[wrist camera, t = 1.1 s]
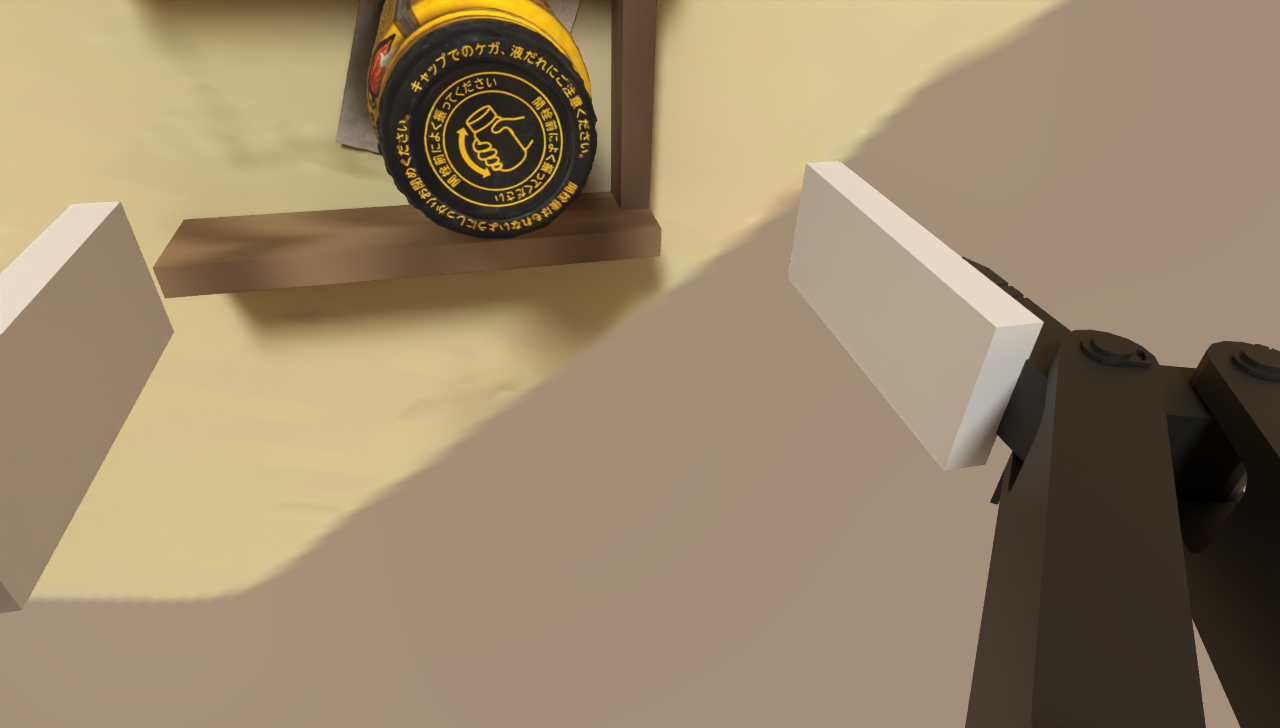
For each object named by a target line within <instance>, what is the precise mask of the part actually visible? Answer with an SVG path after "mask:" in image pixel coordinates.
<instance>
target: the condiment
mask: <svg viewBox="0 0 1280 728" xmlns="http://www.w3.org/2000/svg"><path fill="white" fill-rule="evenodd" d="M579 4H580V0H360V3H359V10H358V15H357V21H356V27H355V33H354V38H353V44H352V49H351V57H350V62H349V67H348V73H347V79H346V85H345V90H344V97H343V102H342V108H341V114H340V119H339V125H338V131H337V137H336V142H337V143H341V144H345V145H349V146H352V147H357V148H362V149H367V150H370V151H373V152H377V153H380V154H381V155H382V156H383V158H384V160H385V166H386V170H387V172H388V174H389V175H391V176H392V178H393V179H394V183H395V185H396V187H397V189H398V190H399V191H400V192H401V193H403V194H404V195H405V196H406V198H407V200H408V202H409V204H411V205H412V206H413V207H414V208H415V209H419V210H421V212H422V213H423V214H424V215H425V217H427V218H429V219H430V220H431V221H433V222H434V223H435V224H437V225H439V226H441V227H444V228H447V229H448V230H451V231H454V232H456V233H459V234H464V235H468V236H471V237H475V238H482V239H510V238H515V237H518V236H521V235H523V234H526V233H530V232H533V231H535V230H539V229H542V228H545V227H546V226H548V225H549V224H550V223H551V222H552V221H553V220H554V219H555V218H557V217H558V216H559V215H560V214H561V213H562V212H563V211H564V210H565V209H566V208H567V207H568V206H569V205H570V204H572V203H573V202H574V201H575V200H576V199H577V198H578V196H579V195H580V193H581V191H582V189H583V187H584V186H585V183H586V182H587V178H588V175H589V173H590V171H591V169H592V163H593V162H594V157H595V153H596V148H597V133H596V130H595V124H596V121H597V117H596V115H595V112H594V110H593V105H592V97H591V85H590V80H589V76H588V72H587V69H586V66H585V64H584V62H583V60H582V57H581V54H580V52H579V49H578V46H576V44H575V42H574V40H573V38H572V37H571V35H570V32H571V29H572V26H573V23H574V20H575V17H576V13H577V10H578V7H579Z"/></svg>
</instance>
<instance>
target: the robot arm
mask: <svg viewBox="0 0 1280 728" xmlns="http://www.w3.org/2000/svg"><path fill="white" fill-rule="evenodd" d="M788 279H789V280H790V281H791V282H792V283H793V285H794V286H795V287H796V288H797V290H798V291H799V292H800V293H801V295H802V296H803V297H804V298H805V300H806V301H807V302H808V303H809V304H810V306H811V307H812V308H813V309H814V311H815V312H816V313H817V314H818V316H819V317H820V318H821V319H822V321H823V322H824V323H825V324H826V325H827V327H828V328H829V329H830V331H831V332H832V333H833V334H834V335H835V337H836V338H837V339H838V340H839V342H840V343H841V344H842V345H843V347H844V348H845V349H846V350H847V352H848V353H849V354H850V355H851V357H852V358H853V359H854V360H855V361H856V363H857V364H858V365H859V366H860V368H861V369H862V370H863V371H864V373H865V374H866V375H867V376H868V377H869V379H870V380H871V381H872V383H873V384H874V385H875V386H876V387H877V389H878V390H879V391H880V392H881V394H882V395H883V396H884V397H885V399H886V400H887V401H888V402H889V403H890V405H891V406H892V407H893V408H894V410H895V411H896V412H897V413H898V415H899V416H900V417H901V418H902V420H903V421H904V422H905V423H906V425H907V426H908V427H909V428H910V429H911V431H912V432H913V433H914V434H915V436H916V437H917V438H918V439H919V441H920V442H921V443H922V444H923V446H924V447H925V448H926V449H927V451H928V452H929V453H930V454H931V455H932V457H933V458H934V459H935V461H936V462H937V463H938V464H939V465H940V466H941V468H942V469H943V470H944V471H945V470H951V469H958V468H965V467H971V466H978V465H984V464H986V461H987V459H988V457H989V454H990V451H991V449H992V447H993V444H994V442H995V439H996V437H997V435H998V436H999V437H1000V438H1001V439H1002V440H1003V441H1004V442H1005V443H1006V444H1007V445H1008V446H1009V447H1010V448H1011V450H1012V453H1011V455H1010V458H1009V460H1008V463H1007V465H1006V467H1005V469H1004V471H1003V474H1002V476H1001V479H1000V481H999V483H998V485H997V488H996V490H995V492H994V494H993V497H992V499H991V503H994V504H998V503H999V501H1000V503H999V509H998V516H997V522H996V529H995V535H994V542H993V549H992V555H991V561H990V568H989V575H988V581H987V588H986V594H985V601H984V607H983V614H982V621H981V627H980V633H979V640H978V647H977V653H976V659H975V667H974V673H973V680H972V686H971V692H970V699H969V706H968V712H967V718H966V725H965V728H1206V725H1205V718H1204V710H1203V702H1202V694H1201V686H1200V678H1199V670H1198V662H1197V655H1196V647H1195V639H1194V631H1193V623H1192V619H1193V621H1194V623H1195V626H1196V628H1197V630H1198V632H1199V635H1200V637H1201V639H1202V641H1203V644H1204V646H1205V648H1206V650H1207V652H1208V655H1209V657H1210V659H1211V662H1212V664H1213V666H1214V669H1215V671H1216V673H1217V675H1218V678H1219V680H1220V682H1221V684H1222V687H1223V689H1224V691H1225V693H1226V696H1227V698H1228V700H1229V702H1230V705H1231V707H1232V709H1233V711H1234V713H1235V716H1236V718H1237V720H1238V723H1239V725H1240V727H1241V728H1280V351H1277V350H1275V349H1273V348H1272V349H1271V350H1270V349H1269V347H1266V346H1263V345H1260V344H1255V345H1253V344H1248V343H1244V342H1231V341H1223V342H1219V343H1214V344H1212V345H1211V346H1210V347H1209V348H1208V350H1207V351H1206V353H1205V355H1204V356H1203V358H1202V360H1201V361H1200V363H1199V365H1198V367H1197V368H1185V367H1174V366H1163V365H1159V364H1158V362H1157V360H1156V358H1155V356H1153V355H1152V354H1151V353H1149V352H1148V351H1147V350H1146V349H1145V348H1144V347H1142V346H1140V345H1138V344H1136V343H1134V342H1133V341H1131V340H1129V339H1126V338H1123V337H1120V336H1117V335H1114V334H1111V333H1107V332H1101V331H1095V330H1074V331H1072V332H1071V331H1070V330H1069V329H1067V328H1066V327H1065V326H1063V325H1062V324H1061V323H1060V322H1058V321H1057V320H1056V319H1054V318H1053V317H1052V316H1050V315H1049V314H1048V313H1047V312H1045V311H1044V310H1043V309H1041V308H1040V307H1039V306H1037V305H1036V304H1035V303H1033V302H1032V301H1031V300H1030V299H1028V298H1023V294H1022V293H1020V292H1019V291H1018V290H1017V289H1015V288H1014V287H1012V286H1008V283H1007V282H1006V281H1005V280H1004V279H1002V278H1001V277H1000V276H998V275H997V274H996V273H994V272H993V271H992V270H990V269H989V268H987V267H985V266H982V265H980V264H978V263H976V262H973V261H971V260H969V259H967V258H965V257H960V256H959V255H958V254H957V253H955V252H954V251H953V250H951V249H950V248H949V247H947V246H946V245H945V244H944V243H942V242H941V241H940V240H939V239H937V238H936V237H935V236H934V235H932V234H931V233H930V232H928V231H927V230H926V229H925V228H924V227H922V226H921V225H920V224H918V223H917V222H916V221H915V220H913V219H912V218H911V217H910V216H908V215H907V214H906V213H904V212H903V211H902V210H901V209H899V208H898V207H897V206H896V205H894V204H893V203H892V202H890V201H889V200H888V199H887V198H885V197H884V196H883V195H881V194H880V193H879V192H878V191H877V190H875V189H874V188H873V187H871V186H870V185H869V184H868V183H866V182H865V181H864V180H863V179H861V178H860V177H859V176H857V175H856V174H855V173H854V172H852V171H851V170H850V169H848V168H847V167H846V166H845V165H844V164H842V163H841V162H840V161H835V162H817V163H806V168H805V174H804V180H803V187H802V193H801V199H800V205H799V211H798V218H797V223H796V229H795V236H794V242H793V248H792V255H791V260H790V266H789V272H788ZM173 333H174V330H173V328H172V326H171V323H170V321H169V318H168V316H167V313H166V311H165V309H164V306H163V304H162V301H161V299H160V296H159V294H158V292H157V289H156V287H155V284H154V282H153V279H152V277H151V275H150V272H149V270H148V267H147V265H146V262H145V260H144V258H143V255H142V253H141V250H140V248H139V245H138V243H137V240H136V238H135V236H134V233H133V231H132V228H131V226H130V223H129V221H128V219H127V216H126V214H125V211H124V209H123V206H122V204H121V202H120V201H118V202H101V203H83V204H71V205H70V206H69V207H68V208H67V209H66V210H65V211H64V212H63V213H62V214H61V215H60V216H59V217H58V218H57V219H56V220H55V221H54V222H53V223H52V224H51V225H50V226H49V227H48V228H47V229H46V230H45V231H44V232H43V233H42V234H41V235H40V236H39V237H38V238H37V239H36V240H35V241H33V242H32V243H31V244H30V245H29V246H28V247H27V248H26V249H25V250H24V251H23V252H22V253H21V254H20V255H19V256H18V257H17V258H16V259H15V260H14V261H13V262H12V263H11V264H10V265H9V266H8V267H7V268H6V269H5V270H4V271H3V272H2V273H1V274H0V613H5V612H11V611H18V610H22V609H23V607H24V605H25V604H26V602H27V600H28V598H29V596H30V594H31V593H32V591H33V589H34V587H35V585H36V583H37V582H38V580H39V578H40V576H41V574H42V573H43V571H44V569H45V567H46V565H47V563H48V562H49V560H50V558H51V556H52V554H53V552H54V551H55V549H56V547H57V545H58V543H59V541H60V540H61V538H62V536H63V534H64V532H65V530H66V529H67V527H68V525H69V523H70V521H71V519H72V518H73V516H74V514H75V512H76V510H77V508H78V507H79V505H80V503H81V501H82V499H83V497H84V496H85V494H86V492H87V490H88V488H89V486H90V485H91V483H92V481H93V479H94V477H95V475H96V474H97V472H98V470H99V468H100V466H101V465H102V463H103V461H104V459H105V457H106V455H107V454H108V452H109V450H110V448H111V446H112V444H113V443H114V441H115V439H116V437H117V435H118V433H119V432H120V430H121V428H122V426H123V424H124V422H125V421H126V419H127V417H128V415H129V413H130V411H131V410H132V408H133V406H134V404H135V402H136V400H137V399H138V397H139V395H140V393H141V391H142V389H143V388H144V386H145V384H146V382H147V380H148V378H149V377H150V375H151V373H152V371H153V369H154V367H155V366H156V364H157V362H158V360H159V358H160V357H161V355H162V353H163V351H164V349H165V347H166V346H167V344H168V342H169V340H170V338H171V336H172V335H173ZM1245 486H1246V489H1245V492H1243V488H1244V487H1245Z"/></svg>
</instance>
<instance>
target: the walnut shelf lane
mask: <svg viewBox="0 0 1280 728" xmlns="http://www.w3.org/2000/svg"><path fill="white" fill-rule="evenodd" d="M656 3H657V0H612V63H611V192H600V193H585V194H580V195H579V196H578V198H577V199H576V200H575V201H574V202H573V203H572V204H570V205H569V206H568V207H567V208H566V209H565V210H564V211H563V212H562V213H561V214H560V215H559V216H558V217H557V218H555V219H554V220H553V221H552V222H551V223H550V224H549V225H548V226H546V227H545V228H542V229H539V230H535V231H533V232H530V233H526V234H523V235H521V236H518V237H515V238H510V239H482V238H475V237H471V236H468V235H464V234H459V233H456V232H454V231H451V230H448V229H447V228H444V227H441V226H439V225H437V224H435V223H434V222H433V221H431V220H430V219H429V218H427V217H425V215H424V214H423V213H422V212H421V210H419V209H415V208H414V207H413V206H412V205H402V206H387V207H372V208H357V209H341V210H326V211H311V212H296V213H280V214H265V215H250V216H235V217H219V218H204V219H189V220H183V222H182V223H181V225H180V227H179V228H178V230H177V231H176V233H175V234H174V236H173V237H172V239H171V240H170V242H169V243H168V245H167V247H166V248H165V250H164V251H163V253H162V254H161V256H160V257H159V259H158V260H157V262H156V263H155V265H154V267H153V270H154V272H155V275H156V277H157V280H158V282H159V285H160V287H161V290H162V292H163V294H164V297H165V298H174V297H186V296H198V295H209V294H221V293H233V292H244V291H256V290H268V289H280V288H291V287H303V286H315V285H326V284H338V283H350V282H362V281H373V280H385V279H397V278H408V277H420V276H432V275H444V274H455V273H467V272H479V271H490V270H502V269H514V268H526V267H537V266H549V265H561V264H572V263H584V262H596V261H607V260H619V259H631V258H643V257H654V256H660V247H661V227H660V225H659V224H658V222H657V220H656V219H655V217H654V216H653V214H652V212H651V211H650V209H649V196H650V168H651V141H652V113H653V86H654V58H655V30H656Z"/></svg>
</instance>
